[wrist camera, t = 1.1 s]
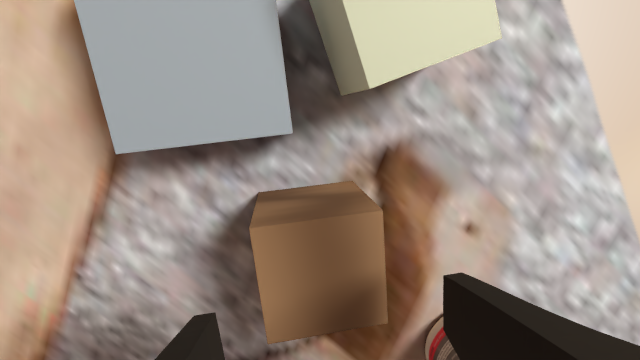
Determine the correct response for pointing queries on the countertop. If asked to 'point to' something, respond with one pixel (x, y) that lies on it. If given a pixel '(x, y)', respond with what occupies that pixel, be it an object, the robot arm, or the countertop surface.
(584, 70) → the countertop surface
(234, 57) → the base block
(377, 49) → the sage cube
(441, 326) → the pill bottle
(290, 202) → the walnut cube
